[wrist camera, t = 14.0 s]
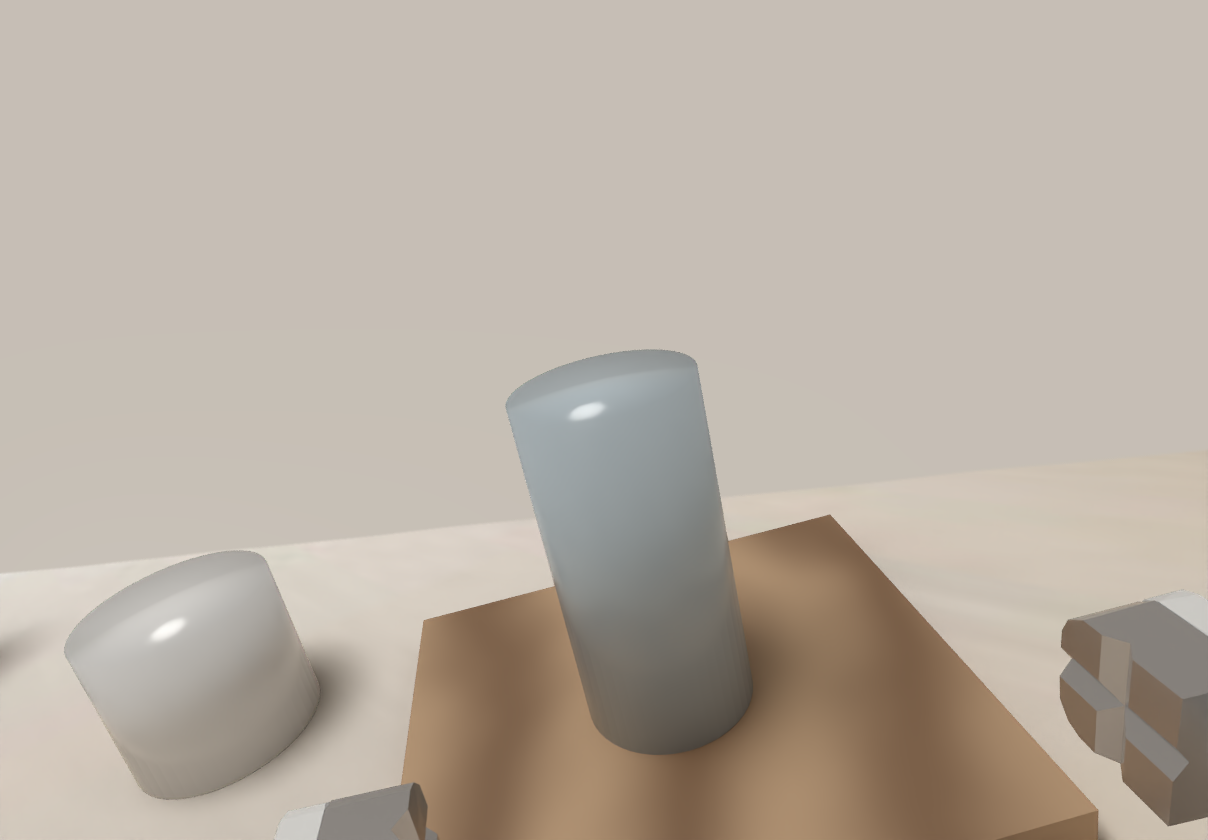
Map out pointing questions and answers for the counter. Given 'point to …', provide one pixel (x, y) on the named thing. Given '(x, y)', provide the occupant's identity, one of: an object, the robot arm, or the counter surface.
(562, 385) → the blue-grey tall cylinder
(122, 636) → the white dome-topped cylinder
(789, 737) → the walnut board
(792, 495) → the counter surface
